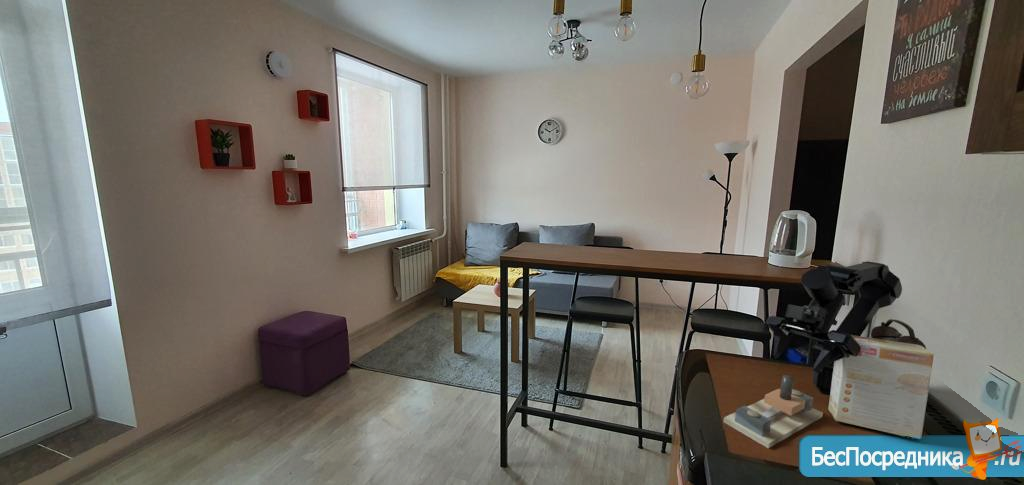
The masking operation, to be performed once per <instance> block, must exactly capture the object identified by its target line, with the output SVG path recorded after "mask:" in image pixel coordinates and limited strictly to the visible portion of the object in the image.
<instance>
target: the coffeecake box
mask: <svg viewBox="0 0 1024 485" xmlns="http://www.w3.org/2000/svg"><path fill="white" fill-rule="evenodd" d="M851 336H852V337H853V338H854V339H855V340H856V341H857V342H858V344H859V345H860V347H861V350H860V352H859V354H858V356H856V357H855V356H852V355H850V357H849V358H847V357H844V358H841V359H839V360H837V361H835V362H834V368H833V376H832V384H831V392H830V394H829V401H828V411H829V412H830V414H831V415H832V417H833V419H834V421H836V422H840V423H844V424H849V425H854V426H858V427H862V428H866V429H871V430H876V431H879V432H884V433H888V434H893V435H897V436H901V437H905V436H910V437H921V438H922V436H923V429H924V424H925V416H926V410H927V409H926V408H927V403H928V398H929V397H928V396H929V389H930V383H931V375H932V370H933V363H934V356H935V354H934V353H933V352H931V351H930V350H929V349H927V348H926V349H925V348H924V347H922V346H920V345H916V344H909V343H902V342H895V341H888V340H882V339H875V338H871V337H868V336H862V335H861V336H854V335H851Z"/></svg>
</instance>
